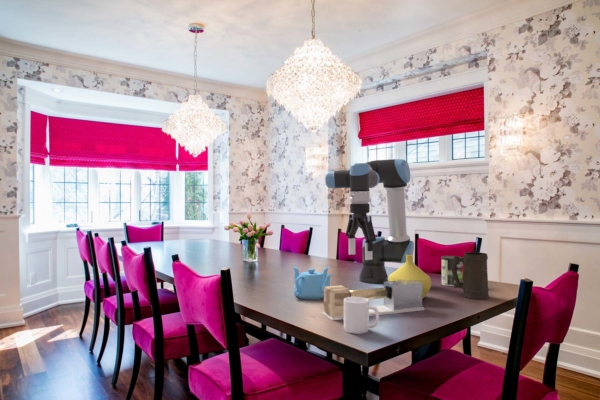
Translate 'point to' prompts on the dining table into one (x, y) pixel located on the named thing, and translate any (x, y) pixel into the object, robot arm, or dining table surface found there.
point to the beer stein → (472, 275)
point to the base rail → (381, 310)
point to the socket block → (335, 300)
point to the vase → (412, 275)
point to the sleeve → (403, 294)
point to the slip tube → (369, 293)
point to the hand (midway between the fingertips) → (360, 257)
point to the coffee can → (450, 271)
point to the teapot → (311, 284)
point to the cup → (358, 315)
